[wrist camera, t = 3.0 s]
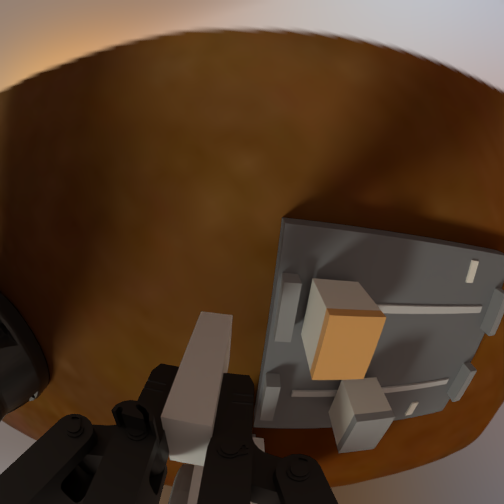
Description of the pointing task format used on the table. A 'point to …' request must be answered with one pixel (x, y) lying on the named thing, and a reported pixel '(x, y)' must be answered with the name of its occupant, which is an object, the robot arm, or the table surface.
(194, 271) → the table surface
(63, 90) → the table surface
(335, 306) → the fader
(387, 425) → the fader
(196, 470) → the alarm clock
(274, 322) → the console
